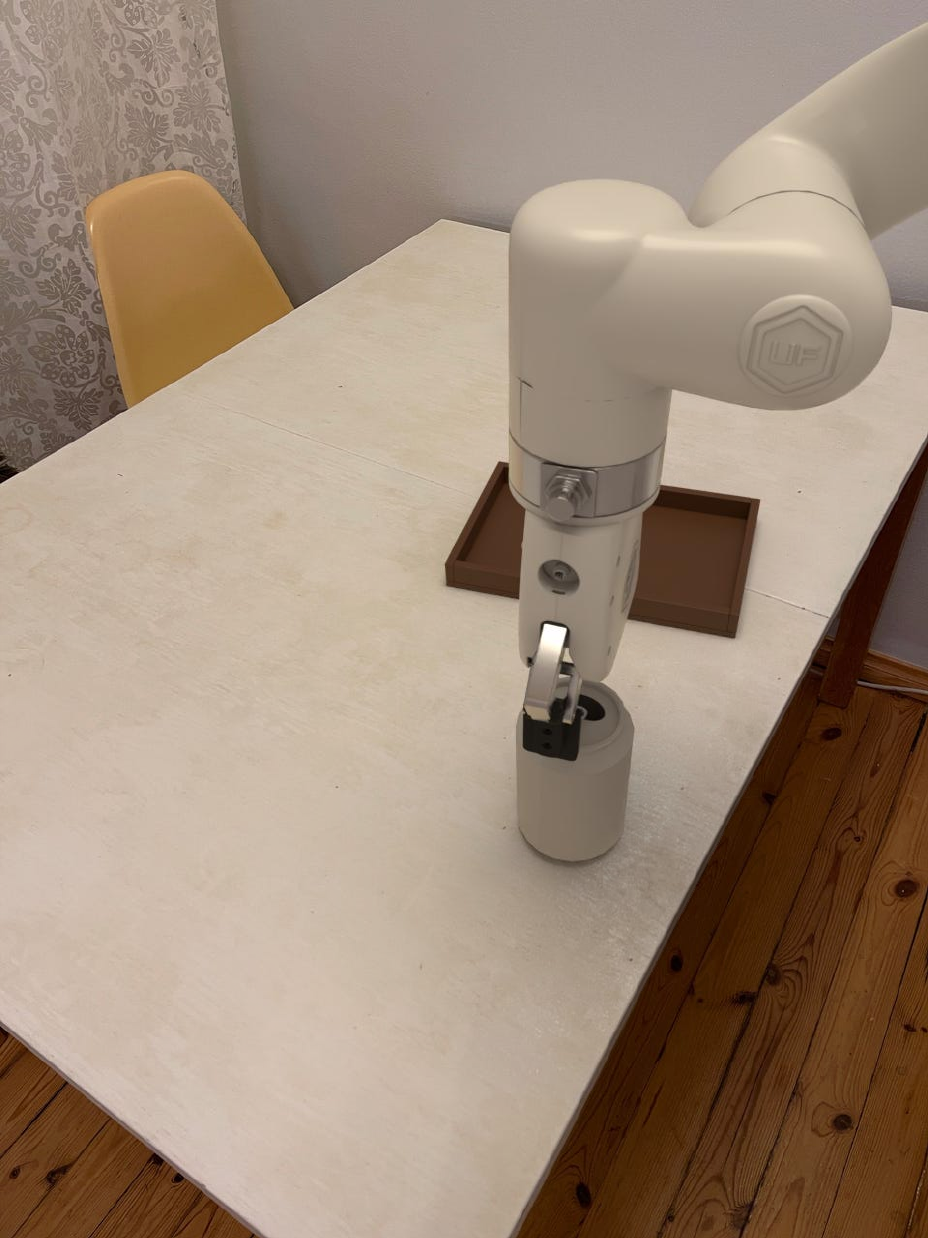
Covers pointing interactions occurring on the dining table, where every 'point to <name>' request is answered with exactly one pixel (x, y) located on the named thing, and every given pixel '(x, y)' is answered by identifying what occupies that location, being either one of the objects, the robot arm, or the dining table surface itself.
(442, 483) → the dining table surface
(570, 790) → the can
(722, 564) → the tray
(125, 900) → the dining table surface
